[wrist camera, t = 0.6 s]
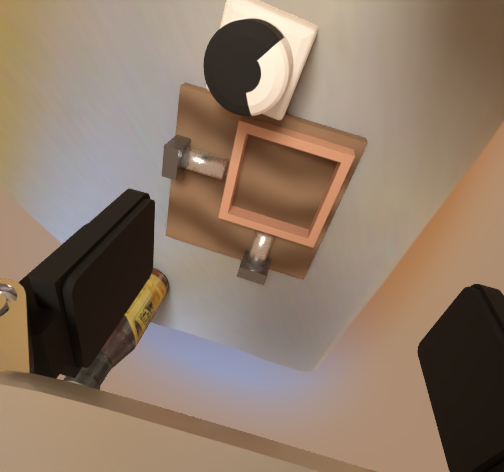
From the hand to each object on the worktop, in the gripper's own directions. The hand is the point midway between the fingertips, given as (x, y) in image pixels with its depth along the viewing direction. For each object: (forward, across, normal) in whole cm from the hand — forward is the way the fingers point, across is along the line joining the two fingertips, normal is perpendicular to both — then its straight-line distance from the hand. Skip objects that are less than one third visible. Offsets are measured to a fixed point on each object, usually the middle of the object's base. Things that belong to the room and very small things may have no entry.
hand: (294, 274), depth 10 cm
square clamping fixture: (+29, +4, +13) cm, 31 cm away
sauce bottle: (+29, +17, +33) cm, 47 cm away
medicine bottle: (+28, +6, -2) cm, 29 cm away
